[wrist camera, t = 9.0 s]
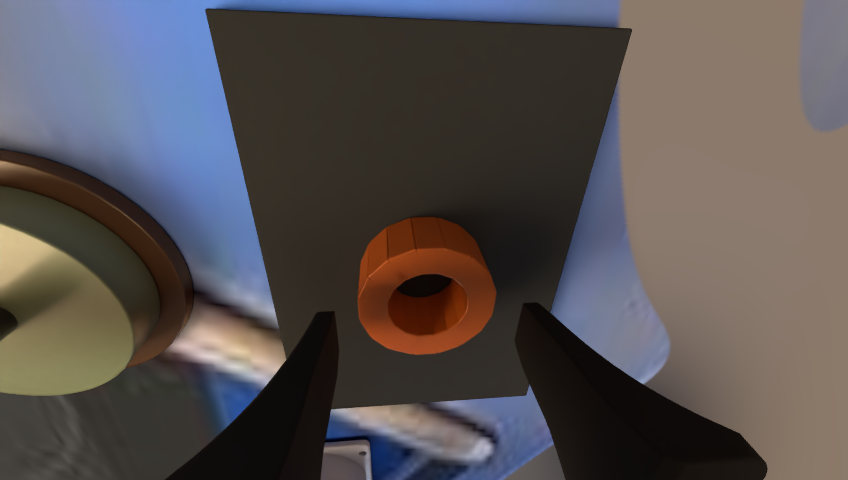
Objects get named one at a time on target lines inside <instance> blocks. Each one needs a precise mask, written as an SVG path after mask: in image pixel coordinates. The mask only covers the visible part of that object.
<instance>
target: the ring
mask: <svg viewBox="0 0 848 480" xmlns="http://www.w3.org/2000/svg"><path fill="white" fill-rule="evenodd" d="M422 274H440V275H443V276H446V277H450V278H453V279H452V281H451V283H450V284H449V285H448V286H447V287H446V288H445V289H443V290H442V291H441V292H439V293H437V294H434V295H431V296H428V297H411V296H407V295H404V294H402V293H401V292H399V291H398V290H397V289H396V288H397V287H398V286H399V285H401V284H402V283H403V282H404V281H406V280H408V279H411V278H413V277H416V276H419V275H422ZM495 299H496V289H495V286H494V283H493V280H492V277H491V274H490V272H489V270H488V267H487V265H486V263H485V261H484V258H483V256H482V254H481V252H480V249H479V247H478V245H477V243H476V241H475V239H474V238H473V237H472V236H471V235H470V234H469V233H467V232H466V231H465V230H464V229H463V228H462V227H461V226H459V225H458V224H455V223H452V222H450V221H447V220H444V219H441V218H439V217H438V218H436V217H412V219H411V218H408V219H405V220H402V221H400V222H397V223H395V224H392V225H389V226H388V227H386V228H385V229H384V230H383V231H381V232H380V233H379V234H378V235H377V236H376V237H375V238H374V239H373V240H371V241H370V243H369V244H368V246H367V249H366V251H365V253H364V256H363V258H362V260H361V265H360V276H359V288H358V299H357V300H358V313H359V319H360V322H361V323H362V325H363V326H364V328H365V329H366V331H367V332H368V334H369V336H370V337H371V338H372V339H374V340H375V341H377V342H379V343H380V344H382V345H383V346H385V347H386V348H388V349H392V350H395V351H399V352H403V353H408V354H414V355H419V354H436V353H437V352H438V353H441V352H444V351H447V350H450V349H453V348H456V347H458V346H460V345H463V344H464V343H465V342H467V341H468V340H470V339H471V338H472V337H474V336H475V335H477V334H478V333H479V332H481V331H482V329H483V328H484V326H485V325H486V323H487V322H488V321H489V319H490V318H491V316H492V313H493V310H494V304H495Z"/></svg>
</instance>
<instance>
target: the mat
mask: <svg viewBox="0 0 848 480" xmlns="http://www.w3.org/2000/svg"><path fill="white" fill-rule="evenodd" d="M206 15H207V19H208V24H209V28H210V32H211V37H212V41H213V45H214V49H215V54H216V58H217V62H218V67H219V71H220V75H221V80H222V84H223V88H224V93H225V97H226V101H227V105H228V110H229V114H230V118H231V123H232V127H233V131H234V136H235V140H236V144H237V148H238V153H239V157H240V161H241V166H242V170H243V174H244V179H245V183H246V187H247V191H248V196H249V200H250V204H251V209H252V213H253V217H254V222H255V226H256V230H257V234H258V239H259V243H260V247H261V252H262V256H263V260H264V265H265V269H266V273H267V278H268V282H269V286H270V290H271V295H272V299H273V303H274V308H275V312H276V316H277V321H278V325H279V329H280V333H281V338H282V342H283V346H284V351H285V355H286V359H287V358H288V357H289V355H290V354H291V352H292V351H293V349H294V348H295V346H296V345H297V344H298V342H299V341H300V339H301V337H302V336H303V334H304V333H305V331H306V329H307V328H308V326H309V324H310V322H311V321H312V319H313V317H314V315H315V314H316V313H317V312H322V311H335V318H336V326H337V335H338V343H339V362H338V374H337V381H336V386H335V391H334V397H333V402H332V407H331V409H341V408H355V407H369V406H383V405H398V404H412V403H426V402H440V401H455V400H469V399H483V398H497V397H512V396H525V395H526V394H527V391H528V387H529V382H528V379H527V377H526V375H525V372H524V370H523V368H522V365H521V362H520V359H519V356H518V352H517V349H516V345H515V342H514V340H515V336H516V331H517V327H518V323H519V318H520V314H521V310H522V305H523V303H534V302H538V303H539V304H541V305H542V306H543V307H544V308H545V309H546V310H547V311H549V312H550V311H551V308H552V304H553V301H554V297H555V294H556V291H557V287H558V284H559V280H560V277H561V273H562V270H563V266H564V263H565V260H566V256H567V253H568V249H569V246H570V242H571V239H572V235H573V232H574V229H575V225H576V222H577V218H578V215H579V211H580V208H581V204H582V201H583V198H584V194H585V191H586V187H587V184H588V180H589V177H590V173H591V170H592V167H593V163H594V160H595V156H596V153H597V149H598V146H599V142H600V139H601V135H602V132H603V129H604V125H605V122H606V118H607V115H608V111H609V108H610V104H611V101H612V98H613V94H614V91H615V87H616V84H617V80H618V77H619V73H620V70H621V67H622V63H623V60H624V56H625V53H626V49H627V46H628V42H629V39H630V35H631V32H632V29H628V28H608V27H587V26H566V25H545V24H524V23H503V22H482V21H461V20H440V19H418V18H397V17H376V16H355V15H334V14H313V13H292V12H271V11H250V10H229V9H206ZM412 217H436V218H438V217H439V218H441V219H444V220H447V221H450V222H452V223H455V224H458V225H459V226H461V227H462V228H463V229H464V230H465V231H466V232H467V233H469V234H470V235H471V236H472V237H473V238H474V239H475V241H476V243H477V245H478V247H479V249H480V252H481V254H482V256H483V258H484V261H485V263H486V265H487V267H488V270H489V272H490V274H491V277H492V280H493V283H494V286H495V289H496V299H495V304H494V310H493V313H492V316H491V318H490V319H489V321H488V322H487V323H486V325H485V326H484V328H483V329H482V331H481V332H479V333H478V334H477V335H475V336H474V337H472V338H471V339H470V340H468V341H467V342H465V343H464V344H463V345H460V346H458V347H456V348H453V349H450V350H447V351H444V352H441V353H438V352H437V353H436V354H419V355H414V354H408V353H403V352H399V351H395V350H392V349H388V348H386V347H385V346H383V345H382V344H380V343H379V342H377V341H375V340H374V339H372V338H371V337H370V336H369V334H368V332H367V331H366V329H365V328H364V326H363V325H362V323H361V322H360V319H359V313H358V300H357V299H358V288H359V276H360V265H361V260H362V258H363V256H364V253H365V251H366V249H367V246H368V244H369V243H370V241H371V240H373V239H374V238H375V237H376V236H377V235H378V234H379V233H380V232H381V231H383V230H384V229H385V228H386V227H388V226H389V225H392V224H395V223H397V222H400V221H402V220H405V219H408V218H411V219H412ZM452 279H453V278H450V277H446V276H443V275H440V274H422V275H419V276H416V277H413V278H411V279H408V280H406V281H404V282H403V283H402V284H401V285H399V286H398V287H397V288H396V289H397V290H398V291H399V292H401V293H402V294H404V295H407V296H411V297H428V296H431V295H434V294H437V293H439V292H441V291H442V290H443V289H445V288H446V287H447V286H448V285H449V284H450V283H451V281H452Z"/></svg>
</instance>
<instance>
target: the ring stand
mask: <svg viewBox="0 0 848 480" xmlns="http://www.w3.org/2000/svg"><path fill="white" fill-rule="evenodd" d="M192 304H193V288H192V281H191V278H190V274H189V270H188V268H187V266H186V264H185V261H184V259H183V257H182V255H181V254H180V252H179V251H178V249H177V247H176V246H175V244H174V243H173V241H172V240H171V239H170V238H169V236H168V235H167V234H166V233H165V232H164V230H163V229H162V228H161V227H160V226H159V225H158V224H157V223H156V222H155V221H154V220H153V219H152V218H151V217H150V216H149V215H148V214H146V213H145V212H144V211H143V210H142V209H140V208H139V207H138V206H137V205H135V204H134V203H133V202H132V201H130V200H129V199H127V198H126V197H124V196H123V195H121V194H120V193H118V192H117V191H115V190H114V189H112V188H110V187H108V186H107V185H105V184H103V183H101V182H100V181H98V180H96V179H94V178H92V177H90V176H88V175H85V174H83V173H81V172H79V171H77V170H75V169H72V168H70V167H67V166H64V165H61V164H58V163H56V162H53V161H50V160H47V159H43V158H39V157H35V156H31V155H28V154H23V153H17V152H11V151H5V150H0V392H4V393H11V394H20V395H37V396H45V395H62V394H71V393H76V392H81V391H85V390H88V389H92V388H95V387H97V386H100V385H102V384H104V383H106V382H108V381H109V380H111V379H113V378H114V377H116V376H117V375H118V374H119V373H121V372H122V371H123V370H124V369H125V368H128V367H132V366H135V365H138V364H141V363H143V362H145V361H148V360H150V359H152V358H153V357H155V356H157V355H158V354H160V353H162V352H163V351H164V350H165V349H166V348H168V347H169V346H170V345H171V344H172V343H173V342H174V340H175V339H176V338H177V337H178V335H179V334H180V332H181V331H182V329H183V328H184V326H185V324H186V322H187V320H188V318H189V316H190V313H191V309H192Z"/></svg>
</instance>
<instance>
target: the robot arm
mask: <svg viewBox="0 0 848 480" xmlns="http://www.w3.org/2000/svg"><path fill="white" fill-rule="evenodd" d="M514 342H515V345H516V349H517V352H518V356H519V359H520V362H521V365H522V368H523V370H524V372H525V375H526V377H527V379H528V382H529V384H530V386H531V388H532V391H533V393H534V395H535V397H536V400H537V402H538V404H539V406H540V409H541V411H542V413H543V415H544V418H545V420H546V422H547V425H548V427H549V430H550V433H551V436H552V439H553V442H554V445H555V448H556V451H557V453H558V457H559V460H560V463H561V466H562V469H563V473H564V476H565V479H566V480H763V479H764V478H765V476H766V473H767V465H766V462H765V461H764V460H763V459H762V458H761V457H760V456H759V454H758V453H757V452H756V451H755V450H754V449H753V448H752V447H751V446H750V444H748V442H747V441H746V440H745V439H744V438H743V437H742V436H741V434H740V433H737V432H735V431H733V430H731V429H729V428H727V427H724V426H722V425H720V424H718V423H715V422H713V421H711V420H709V419H707V418H704V417H702V416H700V415H698V414H696V413H694V412H692V411H690V410H688V409H686V408H684V407H682V406H680V405H678V404H676V403H675V402H673V401H671V400H669V399H667V398H665V397H664V396H662V395H660V394H658V393H656V392H655V391H653V390H651V389H649V388H648V387H646V386H645V385H643V384H641V383H640V382H638V381H637V380H635V379H634V378H632V377H630V376H629V375H628V374H626V373H625V372H623V371H622V370H620V369H619V368H617V367H616V366H614V365H613V364H611V363H610V362H609V361H607V360H606V359H605V358H603V357H602V356H601V355H599V354H598V353H597V352H595V351H594V350H593V349H592V348H590V347H589V346H588V345H587V344H585V343H584V342H583V341H582V340H581V339H579V338H578V337H577V336H576V335H575V334H573V333H572V332H571V331H570V330H569V329H568V328H567V327H565V326H564V325H563V324H562V323H561V322H560V321H559V320H558V319H556V318H555V317H554V316H553V315H552V314H551V313H550V312H549V311H547V310H546V309H545V308H544V307H543V306H542V305H541V304H539V303H538V302H534V303H523V305H522V310H521V314H520V318H519V323H518V327H517V331H516V336H515V340H514ZM338 362H339V343H338V335H337V326H336V318H335V311H322V312H317V313H316V314H315V315H314V317H313V319H312V321H311V322H310V324H309V326H308V328H307V329H306V331H305V333H304V334H303V336H302V337H301V339H300V341H299V342H298V344H297V345H296V346H295V348H294V349H293V351H292V352H291V354H290V355H289V357H288V358H287V360H286V361H285V362H284V364H283V365H282V366H281V367H280V369H279V370H278V371H277V373H276V374H275V375H274V377H273V378H272V379H271V380H270V382H269V383H268V384H267V385H266V386H265V388H264V389H263V390H262V391H261V392H260V393H259V394H258V396H257V397H256V398H255V399H254V400H253V401H252V402H251V403H250V404H249V405H248V406H247V407H246V408H245V410H244V411H243V412H242V413H241V414H240V415H239V416H238V417H237V418H236V419H235V420H234V421H233V422H232V423H231V424H230V425H229V426H228V427H227V428H226V429H224V430H223V431H222V432H221V433H220V434H219V435H218V436H217V437H216V438H214V439H213V440H212V441H211V442H210V443H209V444H208V445H207V446H206V447H204V448H203V449H202V450H201V451H200V452H199V453H198V454H196V455H195V456H194V457H193V458H192V459H190V460H189V461H188V462H187V463H185V464H184V465H183V466H182V467H180V468H179V469H178V470H177V471H175V472H174V473H173V474H172V475H170V476H169V477H168V478H166V479H165V480H372V466H371V452H370V443H369V441H367V440H352V441H339V442H327V443H325V438H326V433H327V427H328V422H329V417H330V412H331V407H332V402H333V397H334V391H335V386H336V381H337V374H338Z"/></svg>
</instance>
